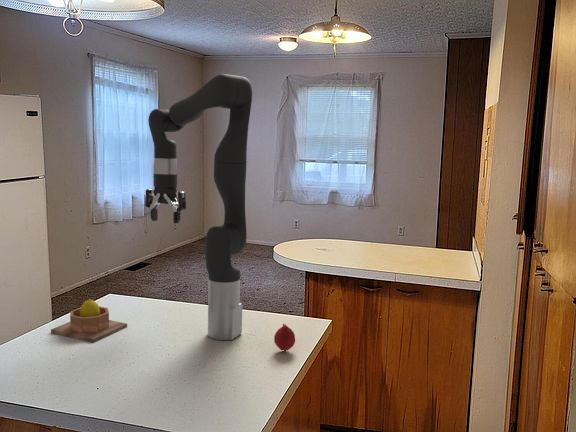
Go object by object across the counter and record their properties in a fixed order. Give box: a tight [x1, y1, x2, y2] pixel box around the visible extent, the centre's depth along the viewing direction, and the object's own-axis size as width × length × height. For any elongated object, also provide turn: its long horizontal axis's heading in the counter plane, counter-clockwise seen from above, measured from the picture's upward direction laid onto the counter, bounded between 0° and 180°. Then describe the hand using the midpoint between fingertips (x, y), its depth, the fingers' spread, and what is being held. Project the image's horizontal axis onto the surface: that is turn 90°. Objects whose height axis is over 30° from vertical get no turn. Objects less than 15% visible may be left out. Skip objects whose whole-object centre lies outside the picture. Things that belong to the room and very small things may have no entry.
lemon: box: [80, 298, 100, 317], centre depth 156 cm, size 6×6×8 cm
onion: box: [273, 323, 296, 352], centre depth 145 cm, size 6×6×8 cm
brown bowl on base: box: [50, 305, 128, 343], centre depth 156 cm, size 16×14×6 cm
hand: (165, 221), depth 171 cm, fingers open, 8 cm apart
